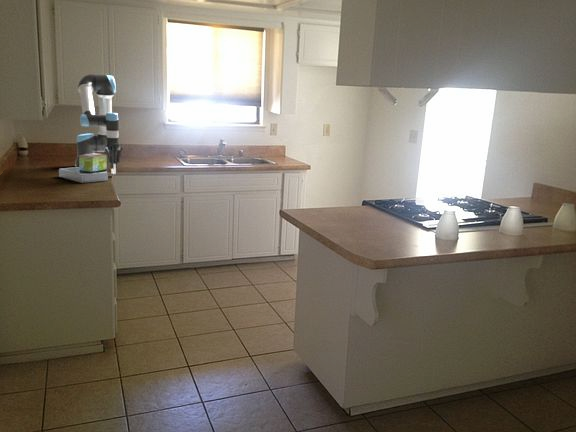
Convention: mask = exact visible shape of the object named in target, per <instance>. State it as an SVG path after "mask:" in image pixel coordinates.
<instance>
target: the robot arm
mask: <svg viewBox="0 0 576 432" xmlns="http://www.w3.org/2000/svg"><path fill="white" fill-rule="evenodd" d="M77 91H78V93H79V94H80V102H81V110H82V114H80V116H79V119H80V121H79V122H80V123H79V125H81V127H87V128H89V127H95V128H96V127H98V128H99V129H98V130H99V131H98V132H97V134H96V135H95V134H94V133H82V134H78V135H77V136H76V154H77V155H76V159H75V161H74V162H75V163H74V168H75V167H79V155H85V154H93V153H95V154H96V153H104V154H106V156H107V164H109V166H110V167H109V169H110V171H111V174H112V175H116V173H117V171H116V170H117V169H118V166H117V165H118V163H120V160H121V156H122V151H123V149H124V148H123V147H121V146H120V144H119V143H120V140H119V139H120V138H119V136H120V135H119V134H120V133H119V131H120V130H119V114H118V113H117V112H113V107H112V106H113V104H112V101H113V100H112V98H113V97H114V96H115V93H117V86H116V80H115V78H114V76H113V75H108V74H93V73H91V74H86V75H84V76H83V77H82V78H81V79H80V80H79V82H78V84H77ZM93 93H96V95H97V97H98V114H96V110H95V103H94V97H93Z"/></svg>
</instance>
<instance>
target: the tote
mask: <svg viewBox="0 0 576 432" xmlns="http://www.w3.org/2000/svg"><path fill="white" fill-rule="evenodd" d="M59 177H60V178H64V179H66V180H70V181H74V182H78V183H80V184H84V183H85V184H86V183H96V182H98V183H99V182H106V181H109V173H108V172H104V173H91V174H81V173H80V172H79V167H75V166H74V167H65V168H58V178H59Z"/></svg>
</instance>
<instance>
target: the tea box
mask: <svg viewBox="0 0 576 432" xmlns="http://www.w3.org/2000/svg"><path fill="white" fill-rule="evenodd" d="M107 164H108V163H107V156H106V154H105V153H104V154H103V153H96V152H95V153H93V154H85V155H79V172H80V173H81V174H91V173H104V172H107V171H108V170H107V169H108V168H107ZM107 173H108V172H107Z"/></svg>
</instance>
